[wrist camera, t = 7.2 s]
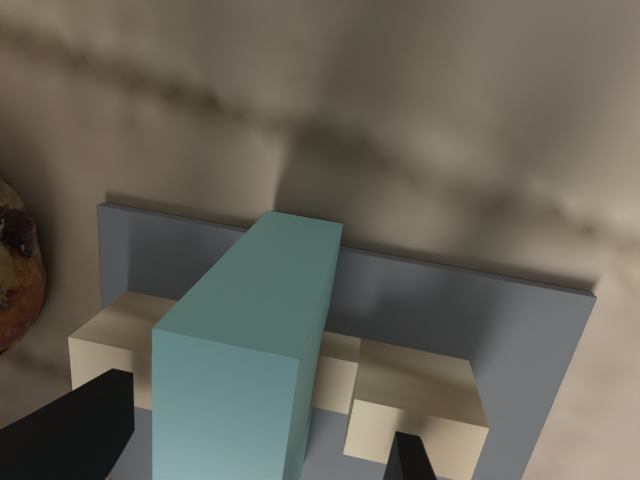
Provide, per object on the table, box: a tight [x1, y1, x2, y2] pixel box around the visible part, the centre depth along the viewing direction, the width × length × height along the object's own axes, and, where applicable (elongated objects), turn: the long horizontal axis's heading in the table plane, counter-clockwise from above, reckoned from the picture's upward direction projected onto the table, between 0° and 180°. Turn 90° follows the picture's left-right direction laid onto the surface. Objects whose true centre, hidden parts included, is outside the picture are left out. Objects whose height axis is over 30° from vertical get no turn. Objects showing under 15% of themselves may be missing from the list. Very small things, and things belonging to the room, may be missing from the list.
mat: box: [97, 202, 597, 480], centre depth 17 cm, size 16×20×1 cm
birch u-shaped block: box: [68, 291, 489, 480], centre depth 13 cm, size 12×2×3 cm, turn 82°
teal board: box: [152, 210, 343, 480], centre depth 12 cm, size 2×10×7 cm, turn 172°
